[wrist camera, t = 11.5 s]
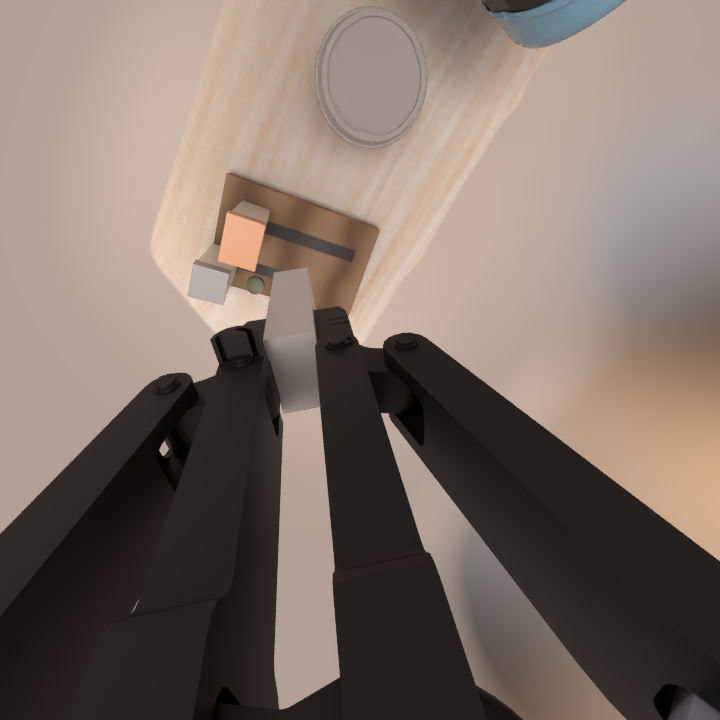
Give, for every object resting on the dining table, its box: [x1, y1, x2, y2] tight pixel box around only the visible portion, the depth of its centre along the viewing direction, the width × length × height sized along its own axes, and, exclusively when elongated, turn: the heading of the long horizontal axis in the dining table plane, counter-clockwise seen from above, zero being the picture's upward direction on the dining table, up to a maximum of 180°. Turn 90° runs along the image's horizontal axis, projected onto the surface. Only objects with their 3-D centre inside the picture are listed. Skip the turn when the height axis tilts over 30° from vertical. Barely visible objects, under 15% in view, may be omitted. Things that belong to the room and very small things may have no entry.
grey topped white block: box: [188, 243, 237, 305], centre depth 39 cm, size 3×3×10 cm
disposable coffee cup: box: [315, 6, 427, 149], centre depth 35 cm, size 10×10×12 cm
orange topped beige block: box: [218, 200, 270, 272], centre depth 36 cm, size 3×4×11 cm
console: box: [214, 173, 380, 316], centre depth 45 cm, size 18×12×4 cm, turn 70°
